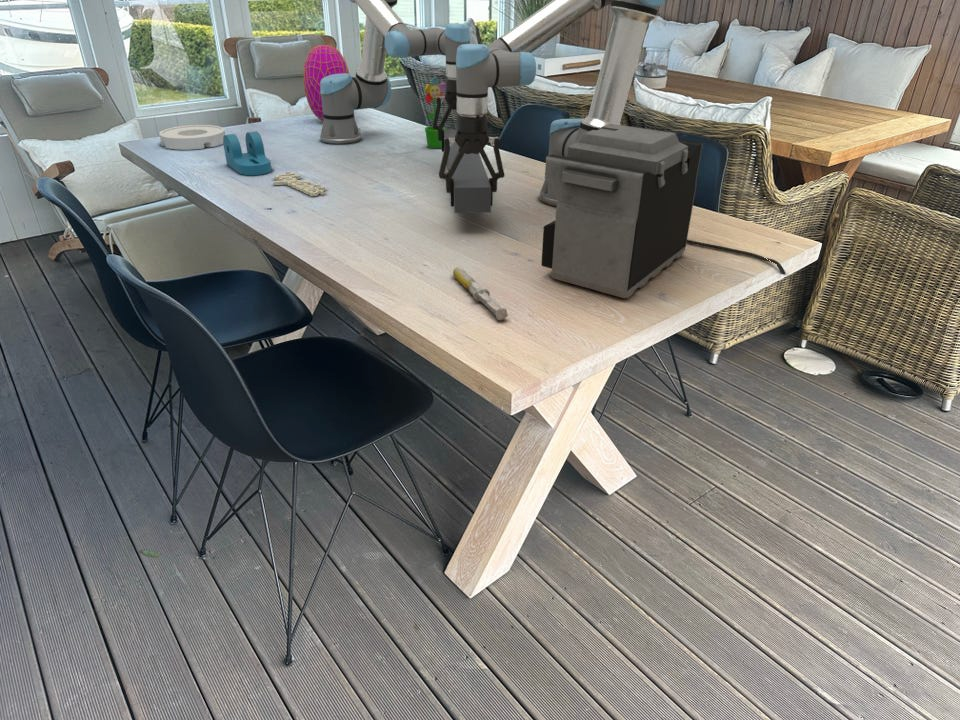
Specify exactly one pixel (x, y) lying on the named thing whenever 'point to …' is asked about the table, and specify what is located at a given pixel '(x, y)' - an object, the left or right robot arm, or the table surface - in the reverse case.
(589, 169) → the dark grey storage case
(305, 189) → the decorative sign
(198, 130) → the ashtray
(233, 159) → the camera mount
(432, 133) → the potted flower
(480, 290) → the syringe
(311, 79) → the decorative egg
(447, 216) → the table surface
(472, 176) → the thick board
